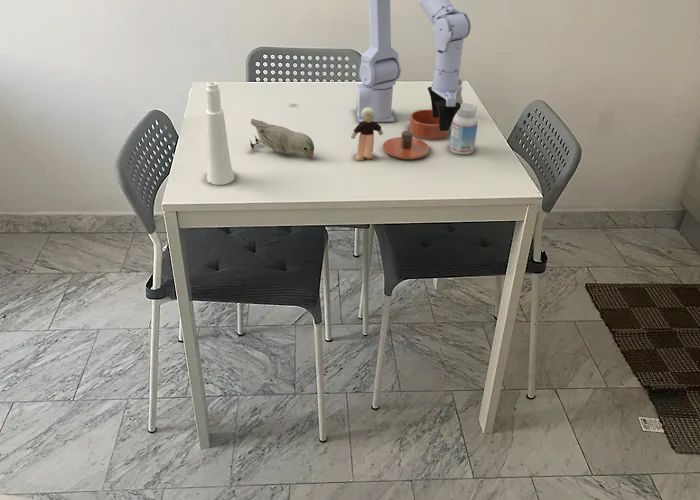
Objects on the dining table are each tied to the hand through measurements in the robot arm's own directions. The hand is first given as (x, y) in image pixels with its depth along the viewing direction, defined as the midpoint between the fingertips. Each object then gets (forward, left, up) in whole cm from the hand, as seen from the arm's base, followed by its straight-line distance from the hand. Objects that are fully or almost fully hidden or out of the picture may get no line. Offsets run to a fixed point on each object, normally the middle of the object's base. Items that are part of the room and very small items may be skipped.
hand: (440, 123), depth 160 cm
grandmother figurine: (-18, -3, -7) cm, 20 cm away
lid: (-8, 0, -6) cm, 10 cm away
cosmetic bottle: (-52, -12, -7) cm, 54 cm away
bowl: (0, +11, -7) cm, 13 cm away
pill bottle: (+6, 0, -7) cm, 9 cm away
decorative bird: (-38, 0, -7) cm, 39 cm away
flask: (+9, +21, -7) cm, 24 cm away
